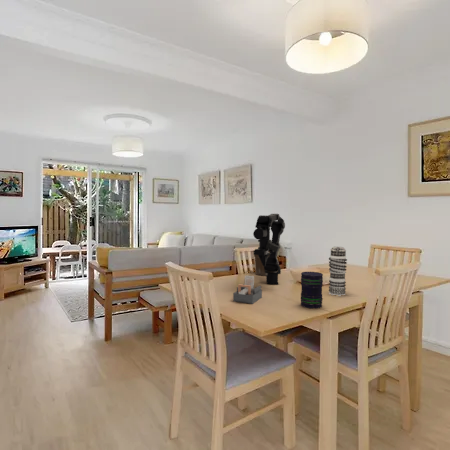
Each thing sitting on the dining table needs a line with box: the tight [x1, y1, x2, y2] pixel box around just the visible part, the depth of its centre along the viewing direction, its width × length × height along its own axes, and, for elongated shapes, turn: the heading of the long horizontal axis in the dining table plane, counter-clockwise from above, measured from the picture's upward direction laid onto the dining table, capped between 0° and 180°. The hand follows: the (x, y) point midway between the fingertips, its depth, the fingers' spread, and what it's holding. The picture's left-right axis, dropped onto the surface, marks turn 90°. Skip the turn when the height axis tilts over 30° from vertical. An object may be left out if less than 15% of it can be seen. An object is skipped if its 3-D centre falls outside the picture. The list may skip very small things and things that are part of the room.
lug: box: [237, 283, 251, 294], centre depth 159 cm, size 1×6×4 cm, turn 64°
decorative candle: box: [328, 246, 348, 297], centre depth 174 cm, size 9×9×25 cm
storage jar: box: [300, 271, 324, 309], centre depth 153 cm, size 10×10×15 cm
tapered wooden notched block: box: [239, 275, 255, 295], centre depth 160 cm, size 10×4×7 cm, turn 154°
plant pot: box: [252, 250, 270, 277], centre depth 227 cm, size 16×16×16 cm
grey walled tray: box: [232, 283, 263, 305], centre depth 163 cm, size 13×10×6 cm
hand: (264, 265), depth 184 cm, fingers closed
